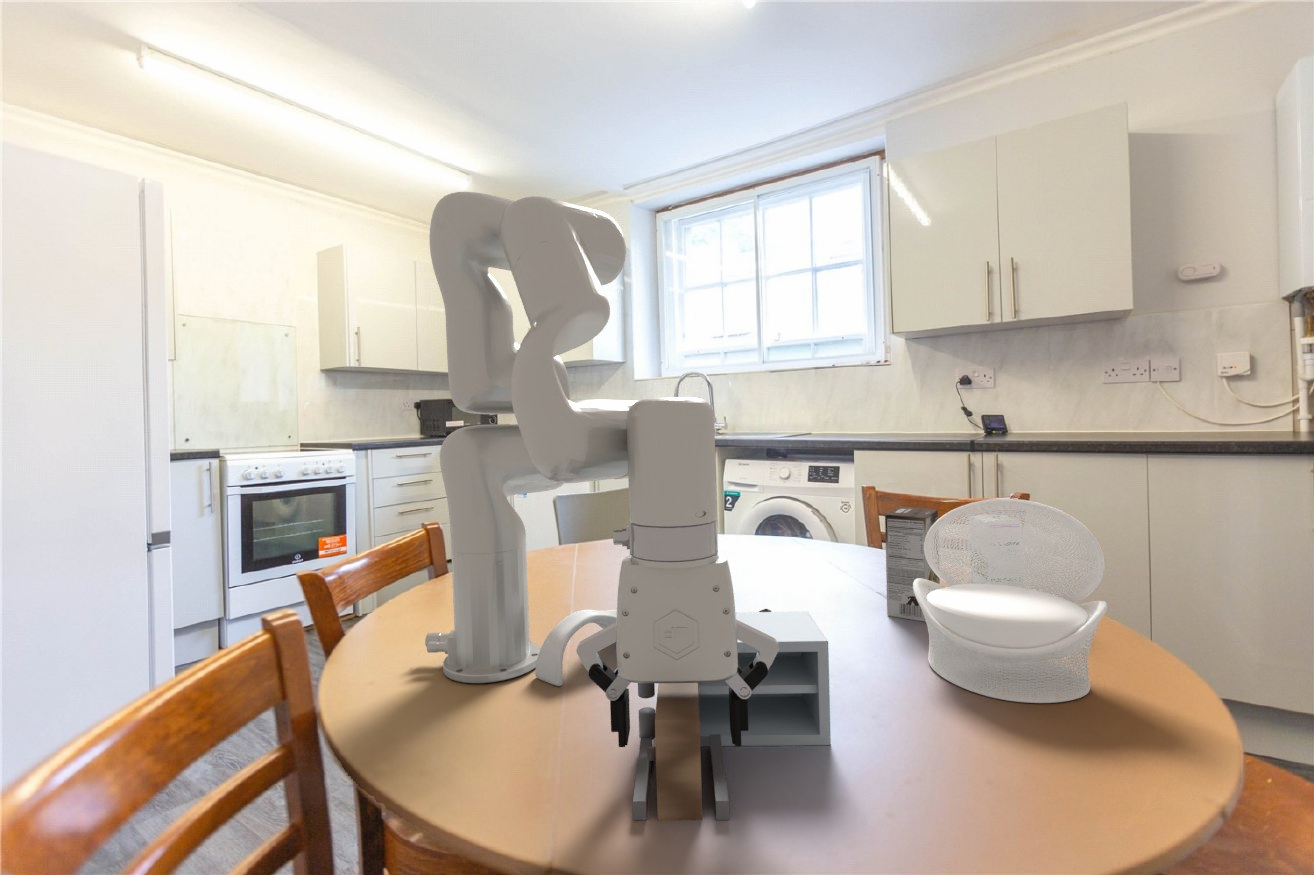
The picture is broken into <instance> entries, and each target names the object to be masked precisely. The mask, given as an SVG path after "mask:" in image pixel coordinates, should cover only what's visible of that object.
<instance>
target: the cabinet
mask: <svg viewBox="0 0 1314 875" xmlns="http://www.w3.org/2000/svg"><path fill="white" fill-rule="evenodd" d="M735 613H736V620H739V621H741V622H743V623H745V624H747V625H749V626H751V627H753V628H755V629H757V630H759V631H761V632H763V633H765V634H767V635H769V636H771V637H773V638H775V639H776V641H777V643H778V645H779V651H778V653H777V655H776V657H775V659H774V661H773V663H772V665H771V666H770V668H769V670H768V675H767V676H766V677H765V678H764V679H763V680H762V681H761V682H760V683H759V684H758V685H757V686H756V687H755V688H754V689H753V691H752V694H751V696H750V697H749V698H748V731H741V746H740V747H753V746H754V747H762V746H764V747H765V746H769V747H771V746H772V747H773V746H779V747H780V746H785V747H787V746H831V745H832V744H831V740H832V739H831V735H832V734H831V704H830V703H831V702H830V697H831V696H830V667H829V666H830V662H829V659H830V658H829V657H830V656H829V640H828V638H827V637H826V636H825V634H824V632H823V631H822V629H821V628H820V626H819V625H818V624H817V622H816V621H815V620H814V618H813V616H812V615H811V614H810V612H809V611H803V610H802V611H801V610H800V611H772V612H759V611H755V612H753V611H749V612H748V611H747V612H742V611H741V612H739V611H738V612H735ZM737 641H738V665H739V666H740V668H741V669H742V670H744V669H745V667H746V666H747V665H748V664H749V663H750V662H751V661H752V660H753V659H754V658H755V657H756V655H757V652H758V649H756V648H754V647H752V646H750V645H748V644H746V643H744V642H742V641H740V640H738V639H737ZM655 684H656V683H637V696H638V697H639V698H641V699H651V698H653V697H655V695H656V689H655V687H656V686H655ZM729 687H730V686H729V685H728V684H727V683H726V682H725V681H722V682H710V683H698V699H699V718H700V747H709V751H710V752H709V754H710V762H711V774H712V776H711V777H712V784H713V785H712V786H713V796H714V806H715V818H716V821H729V820H730V801H729V793H728V784H727V778H726V777H727V776H726V769H725V762H724V761H725V760H724V754H723V747H736V746H735V744H733V743H732V737H731V731H730V710H729ZM655 713H656V708H653V707H651V706H649V707H648V706H647V707H641V708H640V709H639V710H638V734H639V739H640V742H639V743H640V744H639V749H638V750H639V751H638V758H637V766H636V775H635V781H634V783H635V784H634V790H633V798H632V814H633V815H632V816H633V817H632V818H633V821H647V815H648V804H649V803H648V802H649V792H650V780H651V770H652V769H651V768H652V761H648V760H647V748H648V747H653V740H654V739H655Z"/></svg>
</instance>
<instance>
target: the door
mask: <svg viewBox="0 0 1314 875" xmlns="http://www.w3.org/2000/svg"><path fill="white" fill-rule="evenodd" d="M657 684H658V685H657V693H656V705H655V738H654V739H655V746H652V747H648V748H647V760H648V761H651V762H655V767H656V768H655V771H656V772H655V773H656V799H657V800H656V804H657V808H656V810H657V820H658V821H703V792H702V762H701V761H702V758H701V755H702V753H701V746H700V718H699V699H698V683H657Z"/></svg>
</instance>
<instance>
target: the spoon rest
mask: <svg viewBox="0 0 1314 875" xmlns="http://www.w3.org/2000/svg"><path fill="white" fill-rule="evenodd" d="M615 622H617V608H614V609H608V610H597V609H581V610H577V611H574V612H572V613H570V614H568V615H566V616H565V617H564V618H562V619H561V620H560V621H559V622H558V623H557V624H556V625H555V626H554V627H553V628H552V629H551V631H550V632H549V633H548V634H547V636H546V638H545V639H544V641H543V643H542V645H541V646H540V648H541V649H540V652H539V655H538V658H537V662H536V667H535V668H534V669H535V672H534V674H535V678H537V679H539V680H541V681H543V682H545V683H548V684H550V685H553V686H557V687H560V686H563V682H564V681H563V680H564V679H563V662H564V654H565V650H566V647H567V646H568V643H569V641H570V640H571V638H573V636H574V635H575V634H576V633H577V632H578V631H579V630H580V629H581V628H583V627H584V626H586V625H587V624H592V623H593V624H596V625H598V626H599V627H600V628H602V629H604V628H606V627H608V626H610V625H612V624H613V623H615Z"/></svg>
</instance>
